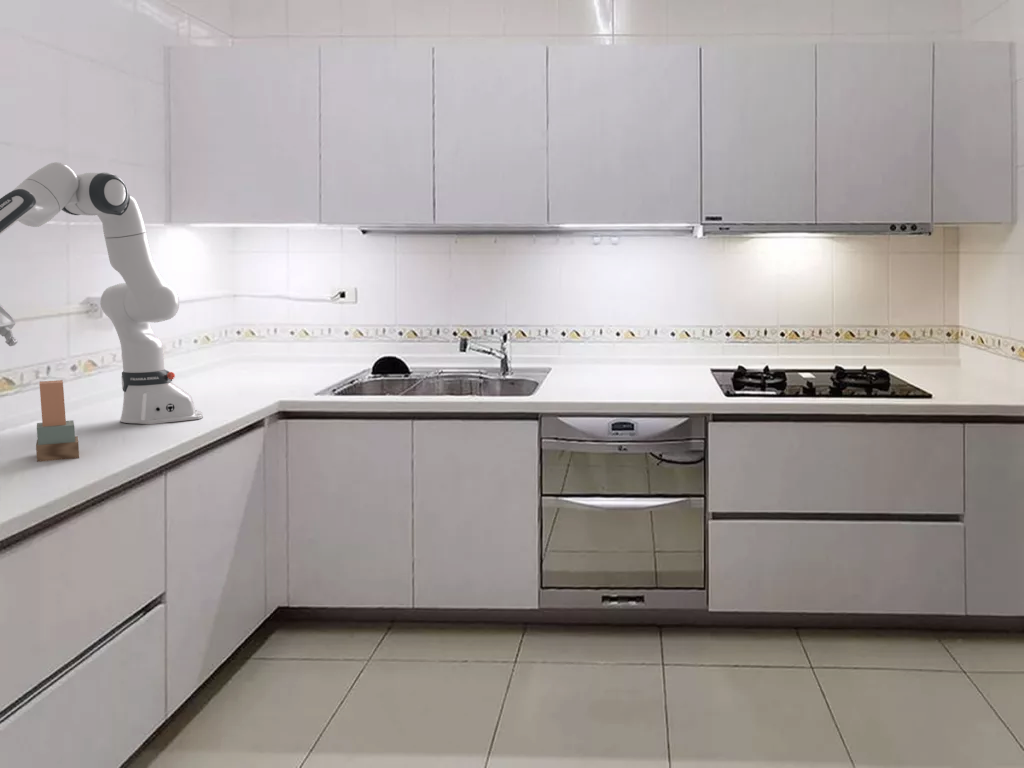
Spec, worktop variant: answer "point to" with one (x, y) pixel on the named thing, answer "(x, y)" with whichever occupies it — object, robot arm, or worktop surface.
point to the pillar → (52, 403)
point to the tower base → (57, 451)
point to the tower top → (56, 433)
